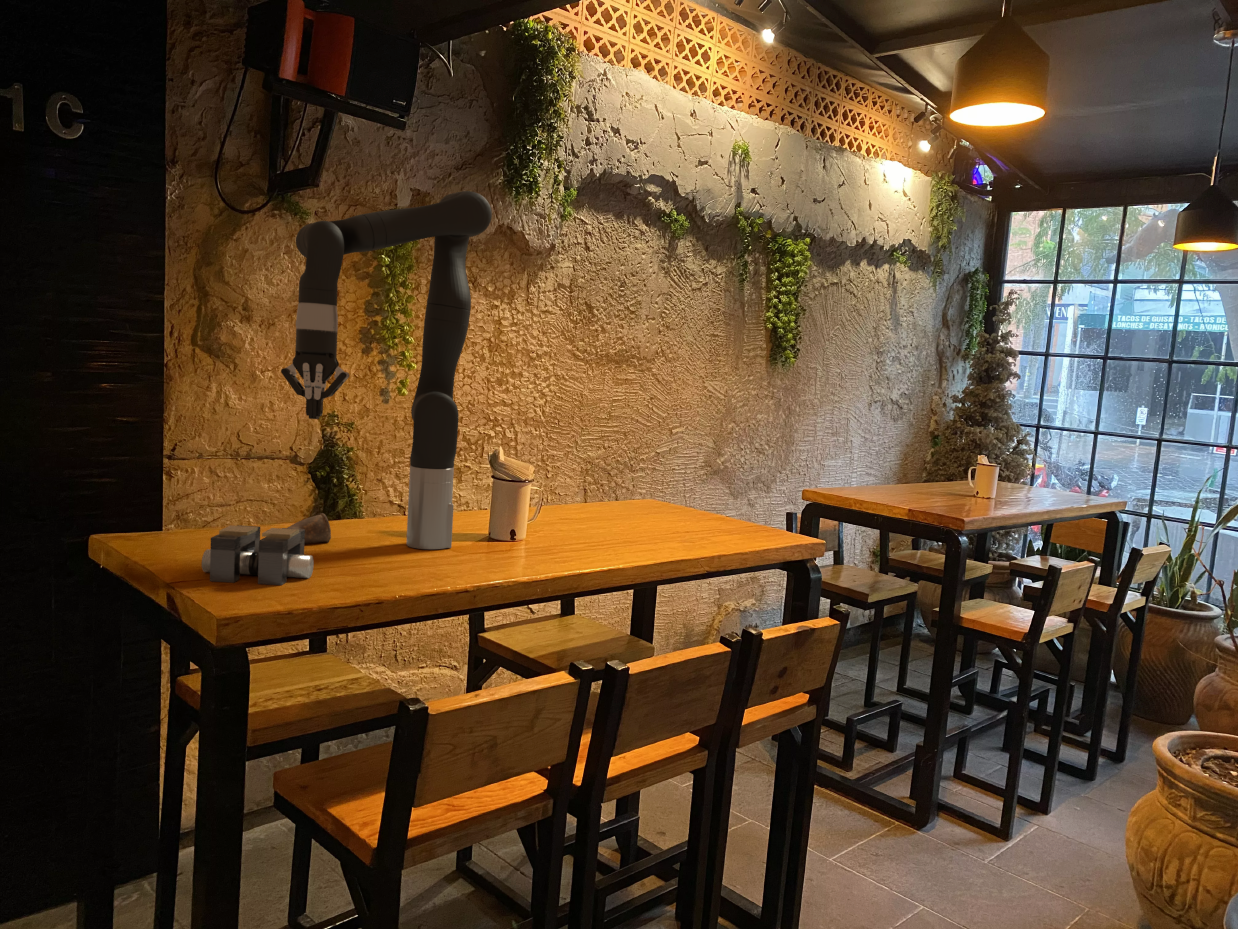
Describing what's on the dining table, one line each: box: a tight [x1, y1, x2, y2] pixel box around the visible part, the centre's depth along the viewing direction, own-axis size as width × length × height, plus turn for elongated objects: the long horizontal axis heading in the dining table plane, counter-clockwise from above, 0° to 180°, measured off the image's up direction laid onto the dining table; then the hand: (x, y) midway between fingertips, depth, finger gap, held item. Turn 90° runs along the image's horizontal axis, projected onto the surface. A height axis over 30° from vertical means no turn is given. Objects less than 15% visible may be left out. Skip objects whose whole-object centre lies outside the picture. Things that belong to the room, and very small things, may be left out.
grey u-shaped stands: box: [209, 524, 305, 586], centre depth 155 cm, size 12×12×8 cm
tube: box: [201, 548, 315, 579], centre depth 155 cm, size 18×4×4 cm, turn 93°
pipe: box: [287, 512, 332, 545], centre depth 180 cm, size 6×17×10 cm
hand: (313, 418), depth 170 cm, fingers closed
